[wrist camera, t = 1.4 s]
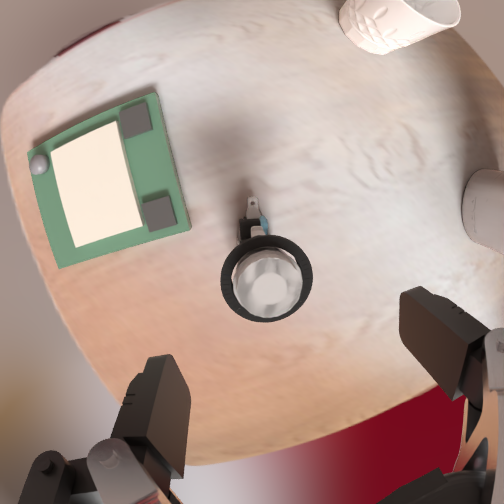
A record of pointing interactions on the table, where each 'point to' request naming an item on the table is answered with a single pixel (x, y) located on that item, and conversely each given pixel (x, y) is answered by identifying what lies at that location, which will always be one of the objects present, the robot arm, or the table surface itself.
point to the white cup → (395, 22)
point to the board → (108, 183)
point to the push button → (264, 272)
